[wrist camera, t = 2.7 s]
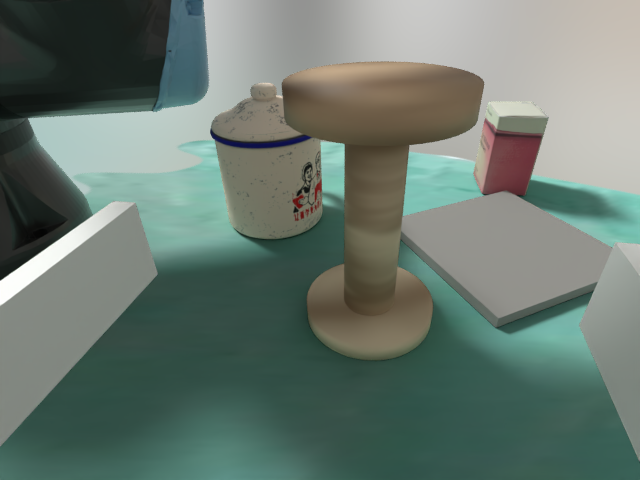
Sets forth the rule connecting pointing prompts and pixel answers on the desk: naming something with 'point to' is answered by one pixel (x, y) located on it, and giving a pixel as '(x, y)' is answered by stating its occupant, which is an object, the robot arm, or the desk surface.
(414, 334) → the stool
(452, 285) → the mat
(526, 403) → the desk surface
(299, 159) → the teacup with lid
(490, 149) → the small box
